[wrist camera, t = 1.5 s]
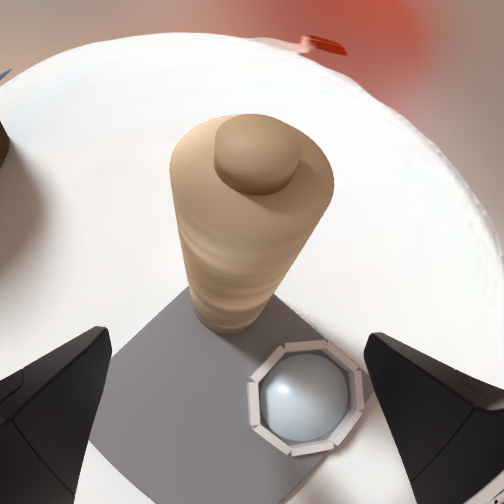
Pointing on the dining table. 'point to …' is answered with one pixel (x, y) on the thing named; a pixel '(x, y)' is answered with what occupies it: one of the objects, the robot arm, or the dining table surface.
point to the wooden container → (3, 143)
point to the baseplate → (225, 406)
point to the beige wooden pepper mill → (244, 211)
